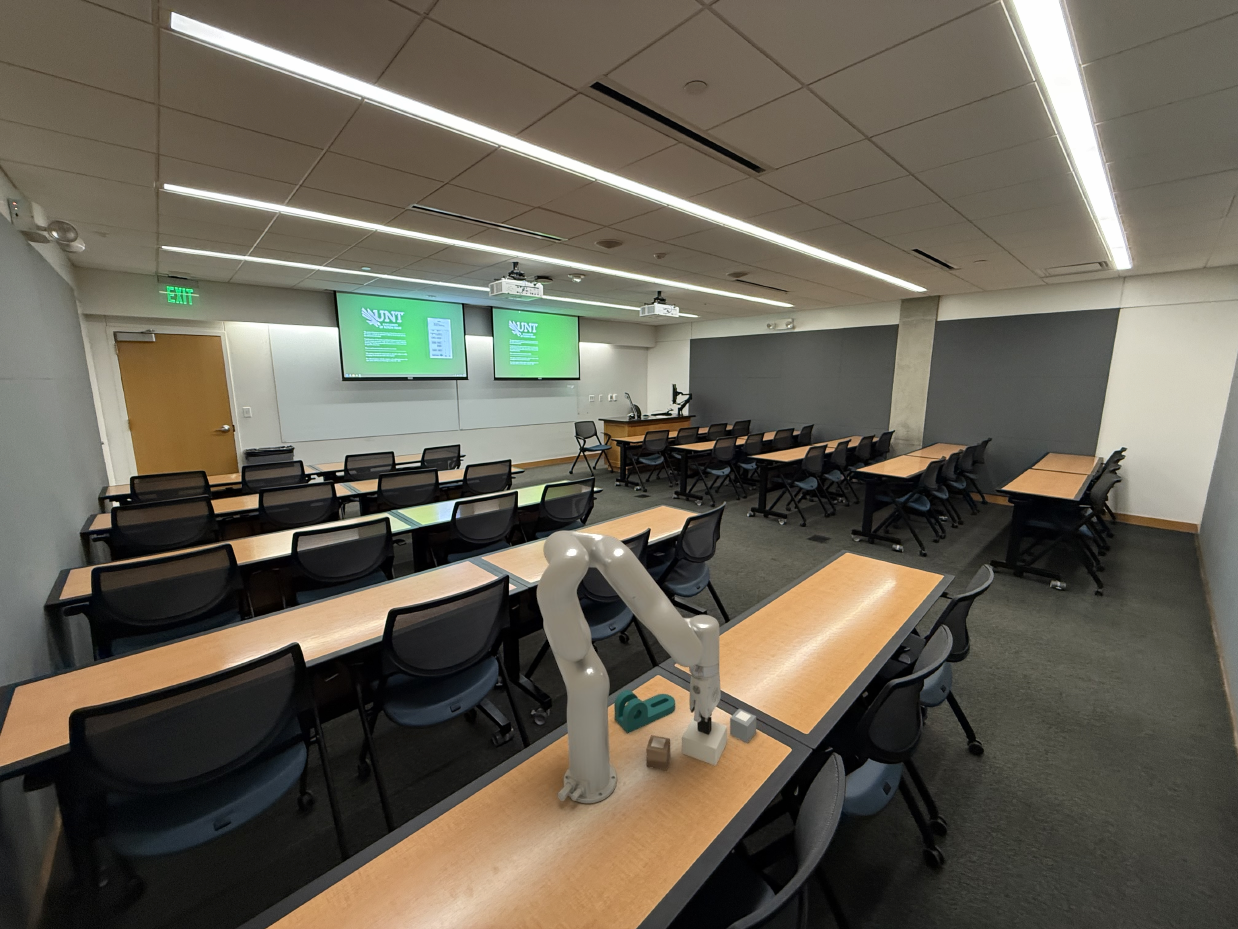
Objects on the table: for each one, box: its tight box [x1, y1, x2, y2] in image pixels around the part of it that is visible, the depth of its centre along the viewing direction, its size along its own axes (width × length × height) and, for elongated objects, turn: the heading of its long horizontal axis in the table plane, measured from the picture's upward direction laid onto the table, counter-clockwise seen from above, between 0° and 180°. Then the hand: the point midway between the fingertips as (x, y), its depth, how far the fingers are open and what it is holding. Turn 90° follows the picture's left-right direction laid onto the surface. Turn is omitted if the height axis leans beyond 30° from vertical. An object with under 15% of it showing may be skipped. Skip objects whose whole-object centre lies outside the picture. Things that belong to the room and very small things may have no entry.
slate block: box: [729, 708, 757, 744], centre depth 128 cm, size 5×5×5 cm
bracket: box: [613, 689, 676, 734], centre depth 136 cm, size 18×7×8 cm, turn 121°
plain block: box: [681, 716, 728, 767], centre depth 123 cm, size 9×9×5 cm
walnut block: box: [645, 734, 671, 772], centre depth 119 cm, size 5×5×5 cm
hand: (704, 731), depth 123 cm, fingers closed
